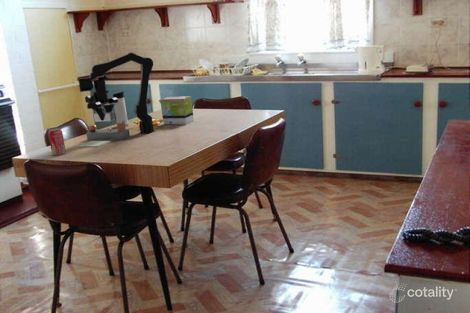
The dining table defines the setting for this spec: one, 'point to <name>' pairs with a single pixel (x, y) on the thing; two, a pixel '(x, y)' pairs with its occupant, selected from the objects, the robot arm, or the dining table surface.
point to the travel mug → (120, 109)
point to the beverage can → (56, 141)
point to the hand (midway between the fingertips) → (105, 119)
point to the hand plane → (108, 133)
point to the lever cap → (105, 116)
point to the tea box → (177, 110)
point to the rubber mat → (94, 144)
